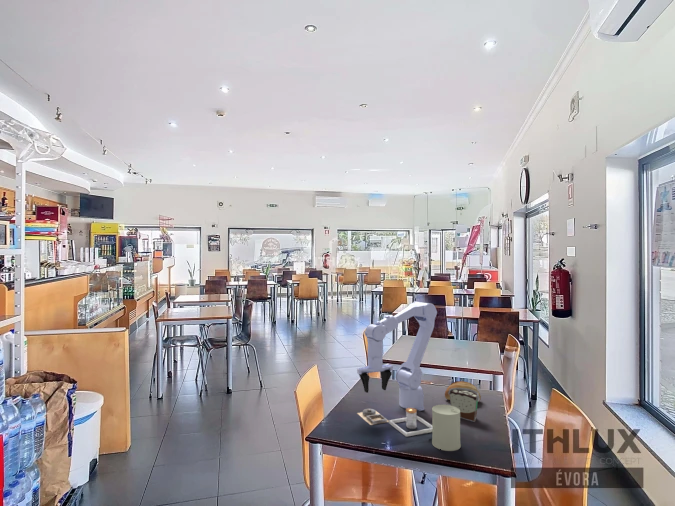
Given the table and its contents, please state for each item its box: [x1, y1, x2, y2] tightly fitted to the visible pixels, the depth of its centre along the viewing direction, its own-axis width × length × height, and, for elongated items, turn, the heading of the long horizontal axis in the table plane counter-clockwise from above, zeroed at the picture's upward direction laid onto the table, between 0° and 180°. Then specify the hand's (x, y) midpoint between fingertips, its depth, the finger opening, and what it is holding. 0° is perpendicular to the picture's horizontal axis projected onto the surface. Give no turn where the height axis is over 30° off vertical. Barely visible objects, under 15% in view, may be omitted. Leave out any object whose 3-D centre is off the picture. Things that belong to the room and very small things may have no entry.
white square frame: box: [388, 415, 432, 437], centre depth 144 cm, size 12×12×2 cm
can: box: [431, 404, 462, 452], centre depth 134 cm, size 9×9×12 cm
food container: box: [448, 388, 481, 423], centre depth 158 cm, size 12×6×10 cm, turn 47°
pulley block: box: [356, 408, 390, 426], centre depth 153 cm, size 8×12×3 cm, turn 21°
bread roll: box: [444, 380, 482, 401], centre depth 175 cm, size 10×15×8 cm, turn 80°
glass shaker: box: [405, 408, 418, 430], centre depth 144 cm, size 4×4×7 cm
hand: (375, 390), depth 158 cm, fingers open, 7 cm apart
